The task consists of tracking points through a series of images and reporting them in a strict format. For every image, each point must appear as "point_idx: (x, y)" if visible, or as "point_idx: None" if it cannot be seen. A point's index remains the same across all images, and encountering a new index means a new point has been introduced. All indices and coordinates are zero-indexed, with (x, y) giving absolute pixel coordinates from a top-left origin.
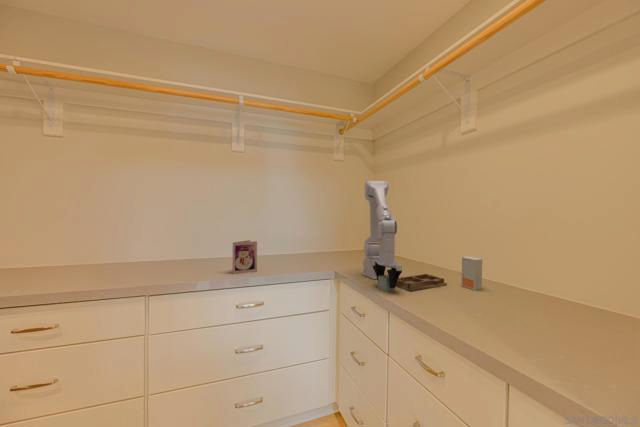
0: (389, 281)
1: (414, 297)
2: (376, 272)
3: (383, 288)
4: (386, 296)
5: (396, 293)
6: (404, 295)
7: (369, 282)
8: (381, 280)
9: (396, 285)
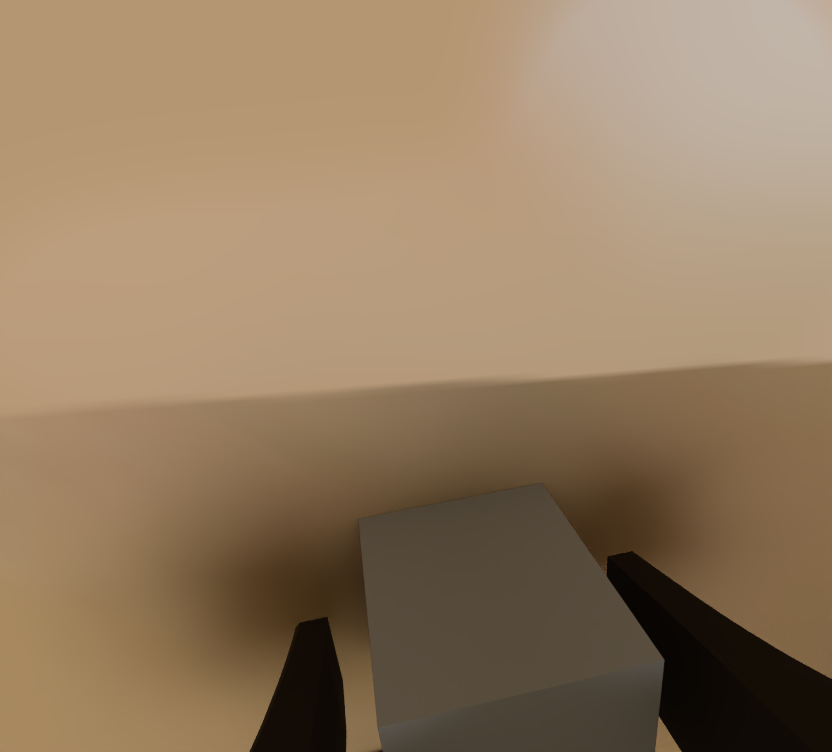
0: (313, 720)
1: (14, 749)
2: (805, 707)
3: (420, 529)
4: (112, 422)
5: (234, 617)
6: (122, 675)
7: (826, 485)
8: (516, 617)
9: None
